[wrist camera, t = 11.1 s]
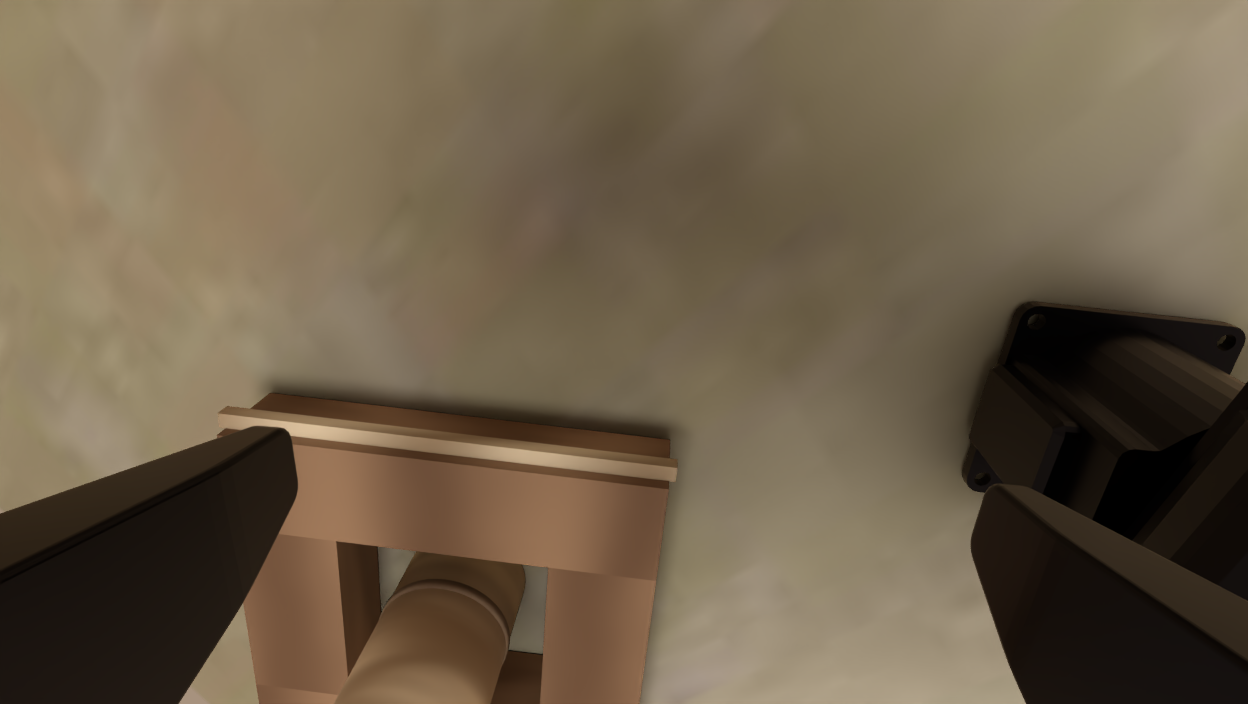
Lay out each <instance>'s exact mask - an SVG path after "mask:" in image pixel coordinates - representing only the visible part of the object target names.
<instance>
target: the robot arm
mask: <svg viewBox="0 0 1248 704" xmlns="http://www.w3.org/2000/svg"><path fill="white" fill-rule="evenodd" d="M1034 314H1039V319H1038V321H1037V322H1036V323H1035V324H1033V325H1028V320H1029V318H1030V317H1031V316H1033V315H1034ZM1225 335H1226V339H1225V340H1224V342H1223V343H1221V344H1219V345H1217V342H1218V340H1219V339H1220V338H1221V337H1223V336H1225ZM1245 339H1246V338H1245V334H1244V332H1243V331H1242V330H1241V329H1239V328H1237V327H1235V326H1233V325H1231V324H1228V323H1225V322H1218V321H1209V320H1199V319H1190V318H1181V317H1172V316H1163V315H1153V314H1144V313H1135V312H1126V311H1117V310H1107V309H1098V308H1089V307H1080V306H1071V305H1061V304H1052V303H1043V302H1028V303H1026V304H1023V305H1022V306H1021V307H1019V308H1018V309H1017V310H1016V312H1015V314H1014V316H1013V319H1012V322H1011V325H1010V328H1009V331H1008V334H1007V337H1006V340H1005V343H1004V346H1003V349H1002V352H1001V355H1000V358H999V362H998V364H997V365H996V366H995V367H994V368H992V369H991V370H990V373H989V376H988V379H987V382H986V385H985V388H984V391H983V394H982V397H981V400H980V403H979V406H978V409H977V412H976V416H975V419H974V422H973V425H972V428H971V431H970V434H969V439H970V440H971V442H972V443H971V446H970V450H969V453H968V456H967V459H966V462H965V465H964V468H963V471H962V477H963V479H964V481H965V482H966V484H967V485H968V487H969V488H971V489H972V490H974V491H977V492H984V493H985V495H984V497H983V501H982V504H981V507H980V510H979V513H978V517H977V520H976V523H975V526H974V529H973V533H972V537H971V553H972V557H973V561H974V564H975V567H976V570H977V573H978V576H979V579H980V582H981V585H982V588H983V591H984V594H985V597H986V599H987V602H988V605H989V608H990V611H991V614H992V617H993V620H994V623H995V626H996V629H997V632H998V635H999V638H1000V641H1001V644H1002V647H1003V650H1004V653H1005V655H1006V658H1007V661H1008V663H1009V666H1010V668H1011V671H1012V673H1013V675H1014V678H1015V680H1016V682H1017V685H1018V687H1019V689H1020V691H1021V693H1022V695H1023V698H1024V700H1025V702H1026V704H1248V382H1247V383H1246V384H1245V383H1243V382H1241V381H1239V380H1237V379H1236V378H1234V377H1232V376H1230V373H1231V371H1232V369H1233V367H1234V365H1235V363H1236V360H1237V358H1238V356H1239V354H1240V352H1241V350H1242V348H1243V346H1244V343H1245ZM983 472H986V474H985V475H984V476H983V477H982V478H980V479H975V477H976V475H977V474H979V473H983ZM297 492H298V477H297V470H296V464H295V457H294V450H293V443H292V439H291V436H290V434H289V432H288V431H287V430H286V429H284V428H281V427H269V426H251V427H248V428H245V429H243V430H240V431H237V432H234V433H231V434H228V435H225V436H222V437H220V438H217V439H214V440H211V441H208V442H205V443H202V444H199V445H196V446H194V447H191V448H188V449H185V450H182V451H179V452H176V453H173V454H171V455H168V456H165V457H162V458H159V459H156V460H153V461H150V462H148V463H145V464H142V465H139V466H136V467H133V468H130V469H127V470H124V471H122V472H119V473H116V474H113V475H110V476H107V477H104V478H101V479H99V480H96V481H93V482H90V483H87V484H84V485H81V486H78V487H76V488H73V489H70V490H67V491H64V492H61V493H58V494H55V495H52V496H50V497H47V498H44V499H41V500H38V501H35V502H32V503H29V504H27V505H24V506H21V507H18V508H15V509H12V510H9V511H6V512H4V513H1V514H0V704H179V702H180V701H181V699H182V698H183V696H184V694H185V693H186V691H187V690H188V688H189V687H190V685H191V684H192V682H193V681H194V679H195V677H196V676H197V674H198V673H199V671H200V670H201V668H202V667H203V665H204V663H205V662H206V660H207V659H208V657H209V656H210V654H211V653H212V651H213V649H214V648H215V646H216V645H217V643H218V642H219V640H220V639H221V637H222V635H223V634H224V632H225V631H226V629H227V628H228V626H229V625H230V623H231V621H232V620H233V618H234V617H235V615H236V613H237V612H238V610H239V608H240V607H241V605H242V604H243V602H244V600H245V598H246V597H247V595H248V593H249V591H250V589H251V587H252V586H253V584H254V582H255V580H256V578H257V576H258V574H259V572H260V570H261V568H262V566H263V564H264V562H265V560H266V558H267V556H268V554H269V552H270V550H271V548H272V546H273V544H274V542H275V540H276V538H277V536H278V534H279V532H280V530H281V528H282V526H283V524H284V522H285V520H286V518H287V516H288V514H289V512H290V510H291V508H292V506H293V504H294V502H295V499H296V496H297Z"/></svg>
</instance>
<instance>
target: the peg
mask: <svg viewBox="0 0 1248 704" xmlns="http://www.w3.org/2000/svg"><path fill="white" fill-rule="evenodd" d="M524 589H525V573H524V569H523V567H522V564H515V563H507V562H499V561H491V560H483V559H475V558H467V557H459V556H451V555H443V554H435V553H427V552H419V551H416V553H415V555H414V557H413V558H412V560H411V562H410V564H409V566H408V568H407V569H406V571H405V573H404V575H403V577H402V579H401V581H400V582H399V584H398V586H397V588H396V590H395V592H394V593H393V595H392V596H391V597H390V599H389V600H388V602H387V603H386V605H385V607H384V609H383V611H382V613H381V615H380V618H379V621H378V623H377V625H376V627H375V629H374V630H373V632H372V634H371V636H370V638H369V640H368V641H367V643H366V645H365V647H364V649H363V651H362V653H361V654H360V656H359V658H358V660H357V662H356V664H355V666H354V667H353V669H352V671H351V673H350V675H349V677H348V678H347V680H346V682H345V684H344V686H343V688H342V690H341V691H340V693H339V695H338V697H337V699H336V701H335V702H334V704H491V700H492V697H493V694H494V690H495V687H496V684H497V680H498V677H499V673H500V670H501V667H502V665H503V663H504V661H505V658H506V655H507V651H508V648H509V644H510V636H511V633H512V630H513V626H514V623H515V619H516V616H517V613H518V609H519V606H520V603H521V599H522V596H523V592H524Z"/></svg>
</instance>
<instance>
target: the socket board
mask: <svg viewBox="0 0 1248 704" xmlns="http://www.w3.org/2000/svg"><path fill="white" fill-rule="evenodd" d="M218 420H219V426H220V428H225V429H224V430H223V431H222V432H220V433H219V434H218V435H217V438H220V437H222V436H225V435H228V434H231V433H234V432H237V431H240V430H243V429H245V428H248V427H251V426H269V427H281V428H284V429H286V430H287V431H288V432H289V434H290V436H291V439H292V443H293V450H294V457H295V464H296V470H297V477H298V492H297V496H296V499H295V502H294V504H293V506H292V508H291V510H290V512H289V514H288V516H287V518H286V520H285V522H284V524H283V526H282V528H281V530H280V532H279V534H278V536H277V538H276V540H275V542H274V544H273V546H272V548H271V550H270V552H269V554H268V556H267V558H266V560H265V562H264V564H263V566H262V568H261V570H260V572H259V574H258V576H257V578H256V580H255V582H254V584H253V586H252V587H251V589H250V591H249V593H248V595H247V597H246V598H245V600H244V602H243V603H244V610H245V616H246V622H247V629H248V635H249V641H250V648H251V654H252V660H253V667H254V673H255V679H256V686H257V692H258V699H259V704H334V702H335V701H336V699H337V697H338V695H339V693H340V691H341V690H342V688H343V686H344V684H345V682H346V680H347V678H348V677H349V675H350V673H351V671H352V669H353V667H354V666H355V664H356V662H357V660H358V658H359V656H360V654H361V653H362V651H363V649H364V647H365V645H366V643H367V641H368V640H369V638H370V636H371V634H372V632H373V630H374V629H375V627H376V625H377V623H378V621H379V618H380V615H381V605H380V588H379V571H378V554H377V546H379V547H387V548H395V549H403V550H411V551H419V552H427V553H435V554H443V555H451V556H459V557H467V558H475V559H483V560H491V561H499V562H507V563H515V564H523V565H531V566H539V567H547V568H548V581H547V597H546V614H545V630H544V647H543V655H538V654H530V653H523V652H515V651H507V655H506V658H505V661H504V663H503V665H502V667H501V670H500V673H499V677H498V680H497V684H496V687H495V690H494V694H493V697H492V700H491V704H639V702H640V694H641V687H642V680H643V673H644V665H645V658H646V651H647V644H648V636H649V629H650V622H651V615H652V607H653V600H654V593H655V586H656V578H657V571H658V564H659V557H660V549H661V542H662V535H663V527H664V520H665V513H666V506H667V498H668V491H669V481H672V482H676V474H677V459H670V440H667V439H658V438H650V437H641V436H633V435H624V434H616V433H607V432H599V431H590V430H582V429H573V428H565V427H556V426H548V425H539V424H531V423H522V422H514V421H505V420H497V419H488V418H480V417H471V416H463V415H454V414H446V413H437V412H429V411H420V410H412V409H403V408H395V407H386V406H378V405H369V404H361V403H352V402H344V401H335V400H327V399H318V398H310V397H301V396H293V395H284V394H276V393H269V394H268V395H267V396H266V397H264V398H263V399H262V400H261V401H259V402H258V403H257V404H256V405H254V406H253V407H252V408H251V409H247V408H239V407H230V406H227V407H225V408H224V409H223V410H221V411H220V412H219V413H218Z"/></svg>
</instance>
